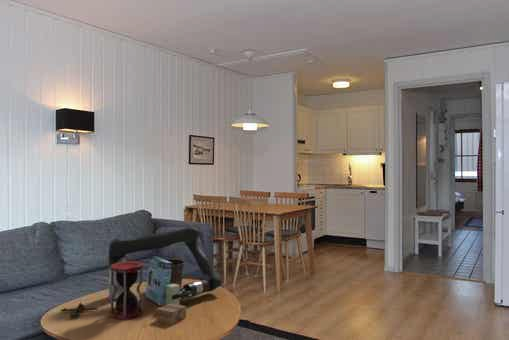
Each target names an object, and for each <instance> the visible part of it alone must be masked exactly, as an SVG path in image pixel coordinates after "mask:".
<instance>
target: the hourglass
mask: <svg viewBox="0 0 509 340" xmlns="http://www.w3.org/2000/svg"><path fill="white" fill-rule="evenodd" d="M143 268H144V263H142V262H140V261H126V262H119V263H115V264H112V265H111V266H110V270H111V284H112V286H113V287H114V293H113V294H112V296H111V300H110V312H109V316H110V317H111V318H112V319H115V320H131V319H135V318H137V317H140V316H141V315H143V313H144V308H143V294H142V292H141V290H140V288H141V285H142V284H143V280H144V279H143V277H144V276H143V273H144V272H143V271H144V269H143ZM139 270H140V271H139ZM113 271H115V272H116V280H117V282H118V283H119V285H121V286H122V287H123V288H124V291H123V292H122V293H121V294H120V295H119V297H118V298H117V300H115V308H114V300H113V297H114V295H115V294H116V292H117V287H116V286H115V285H114V282H113ZM139 275H140V276H139ZM138 276H139V278H140V279H139V280H140V281H139V283H138V284H137V285H136V291H137V293H138V294H139V295H138V296H139V302H138V297H137V296H136V295H135V293H133V291H132V290H131V288H132V287H133V285H134V284H135V283H136V282H137V280H138ZM138 303H139V304H138Z"/></svg>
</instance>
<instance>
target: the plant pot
mask: <svg viewBox="0 0 509 340" xmlns="http://www.w3.org/2000/svg"><path fill="white" fill-rule="evenodd" d="M165 260H166V261H169V262H171V263H172V268H171V277H170V284H177V285H180V288H183V287H182V285H183V275H184V274H183V273H184V272H183V271H184V266H185V263H186V261H185V260H183V259H177V258H171V259H165Z"/></svg>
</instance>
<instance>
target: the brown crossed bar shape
mask: <svg viewBox="0 0 509 340" xmlns="http://www.w3.org/2000/svg"><path fill="white" fill-rule="evenodd" d="M77 305H78V306H77V307H76V308H65V307H63V308H61V309H60V311H61V312H72V313H70V314H69V316H70V319H71V320H73V319H78V318H79V316H80V314H81V313H82V311H97V310H99V309H98V307H96V306H94V307H88V308H87V306H84V304H83V303H81V302H80V303H79V304H77ZM73 311H74V312H73Z"/></svg>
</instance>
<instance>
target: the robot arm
mask: <svg viewBox="0 0 509 340" xmlns="http://www.w3.org/2000/svg"><path fill="white" fill-rule="evenodd" d="M199 236H200V231H199V230H198V229H197V228H196V227H193V226H189V227H184V228H182V229H178V230H172V231H163V232H156V233H150V234H147V235H143V236H141V237H137V238H134V239H127V240H125V239H122V238H119V237H118V238H114V239H112V240H111V241H110V242H109V245H108V300H110V301H111V296H112V294H113V293H114V287H113V286H112V284H111V270H110V266H111V265H112V264H115V263H119V262H127V257H126V256H127V255H128V254H133V253H139V252H147V251H148V252H149V251H153V250H154V251H155V250H160V249H164V248H167V247H169V246H171V245H174V244H179V243H184V245H186V247H187V248H188V250H189V252H190V253H191V254H192V256H193V258H194V259H195V262H196V263H197V266H198V268H199V270H200V272H201V274H202V276H204V277H205V276H208V277H209V278H208V279H202V280H198V281H193V282H189V283H186V284H184V285H183V287H181V288H180V293H179V294H176V295H172V300H174V299H178V298H179V299H180V300H184V299H188V298H189V299H190V298H193V297H196V296H199V295H201V294H203V293H209V292H213V291H215V290H216V289H218V288H219V287H221V286H222V285H223V280H222V277H221V275H220V274H219V273H218V272H217V271H216V270H215V269H214V268H213V265H212V263H211V261H210V260H209V258H208V257H207V255H206V254H205V253H204V251H203V250H202V248H201V246H200V244H199V241H198V239H199ZM113 282H114V285H115V286H116V287H117V292H116V294H115V295H114V297H113V301H114V300H115V301H116V300H117V298H118V297H119V295H120V294H121V293H122V292H123V291H124V288H123V287H122V286H121V285H119V283H118V282H117V280H116V272H115V271H113ZM165 297H166V293H165Z"/></svg>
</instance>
